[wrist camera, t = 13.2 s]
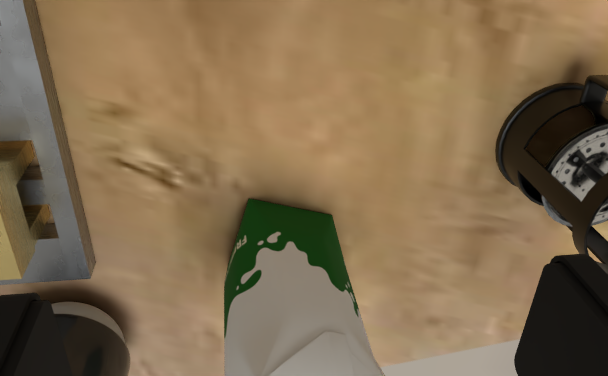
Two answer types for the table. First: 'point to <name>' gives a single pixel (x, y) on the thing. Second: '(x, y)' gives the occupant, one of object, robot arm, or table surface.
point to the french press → (563, 161)
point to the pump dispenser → (91, 340)
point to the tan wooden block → (17, 212)
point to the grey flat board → (41, 147)
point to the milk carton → (291, 299)
